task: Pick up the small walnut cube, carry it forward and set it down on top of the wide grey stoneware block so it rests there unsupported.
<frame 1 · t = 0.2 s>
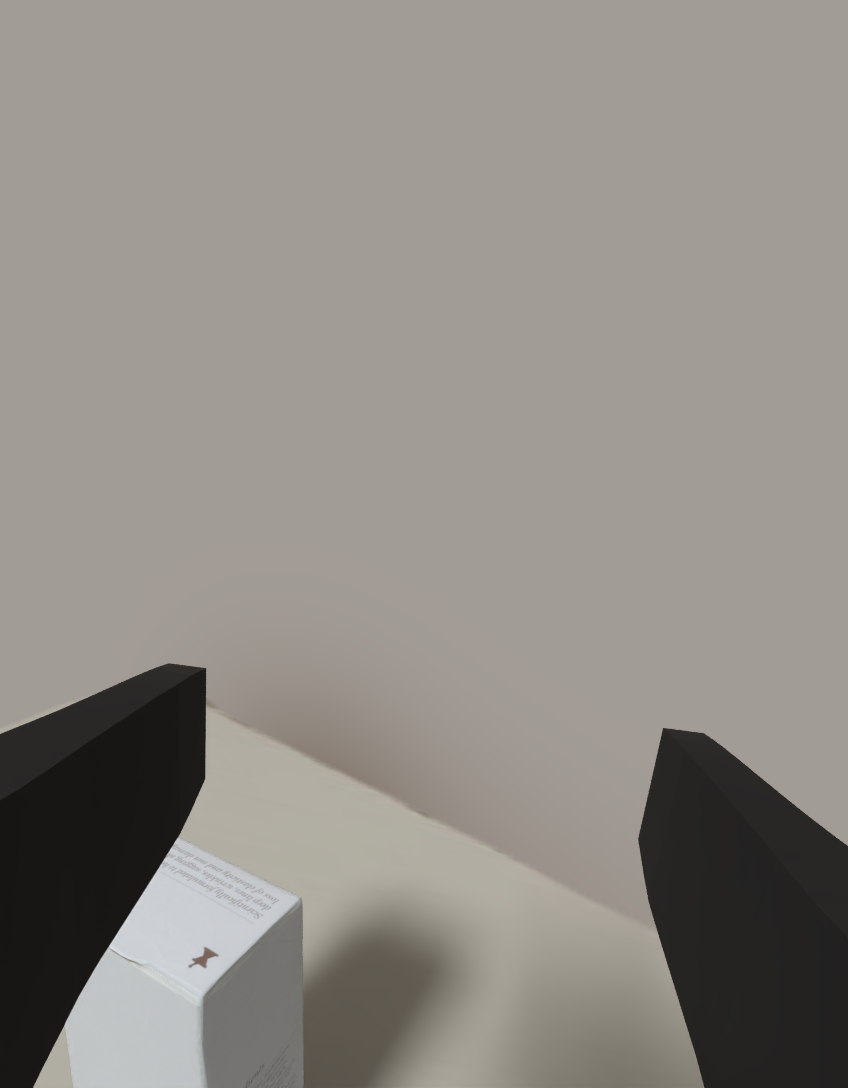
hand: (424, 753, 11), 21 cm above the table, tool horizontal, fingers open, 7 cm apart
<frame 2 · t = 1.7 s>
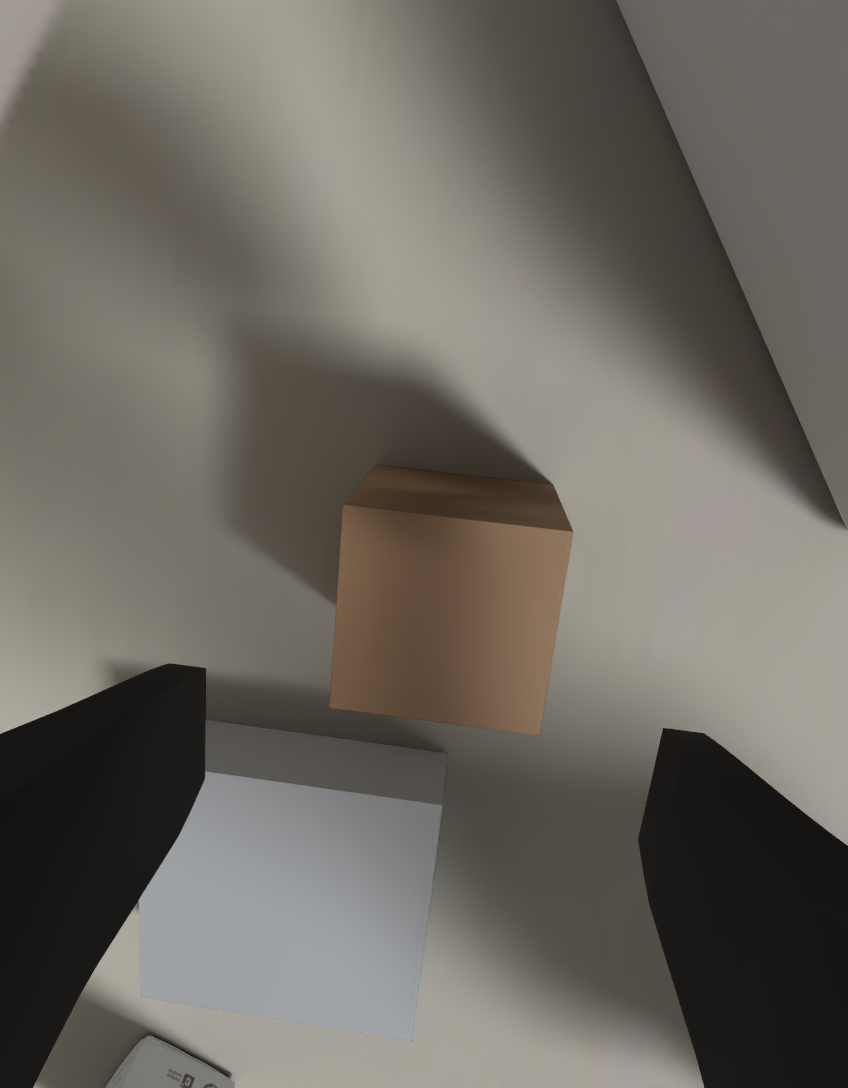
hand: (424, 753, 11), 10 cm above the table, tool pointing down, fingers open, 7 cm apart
walnut cube: (454, 557, 21), on the table
stoneware block: (305, 841, 25), on the table
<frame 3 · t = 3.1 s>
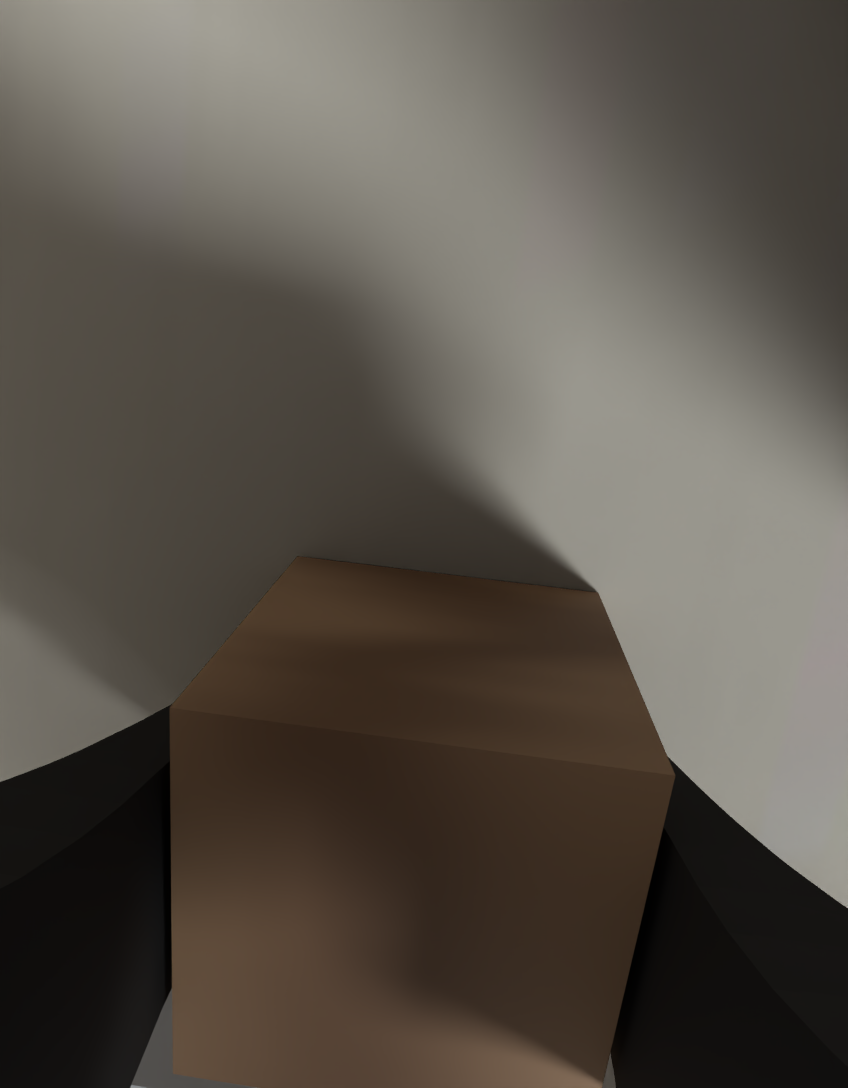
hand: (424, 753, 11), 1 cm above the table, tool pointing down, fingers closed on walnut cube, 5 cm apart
walnut cube: (430, 707, 12), on the table, touching gripper
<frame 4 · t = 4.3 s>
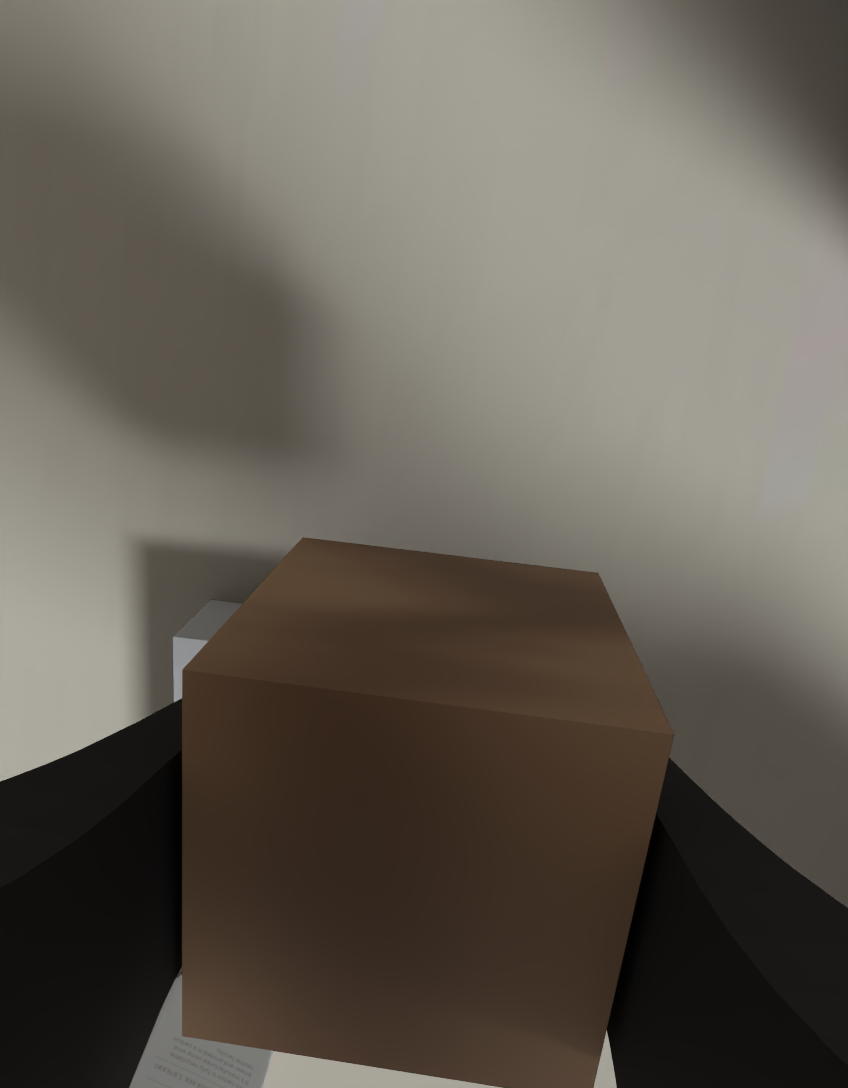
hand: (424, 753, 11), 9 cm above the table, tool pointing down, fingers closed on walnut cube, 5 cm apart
walnut cube: (433, 687, 13), point 7 cm above the table, touching gripper
skincare box: (200, 1043, 26), on the table
stoneware block: (357, 746, 22), on the table
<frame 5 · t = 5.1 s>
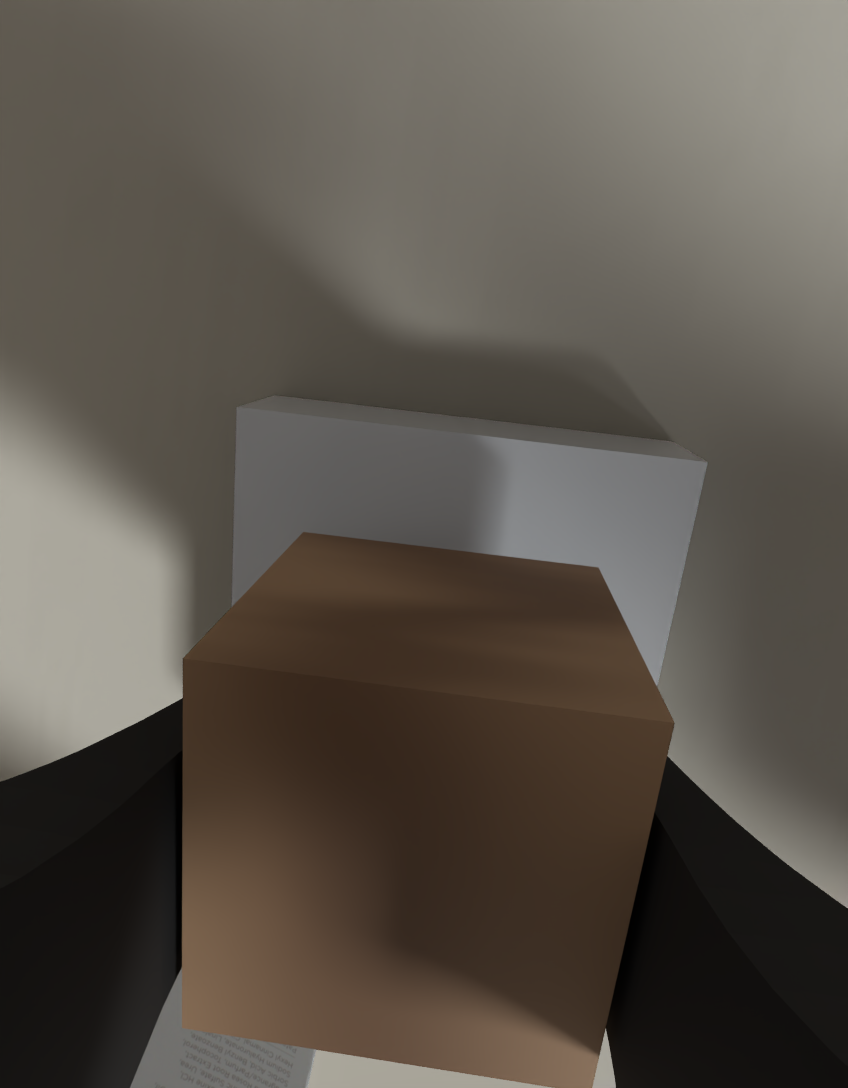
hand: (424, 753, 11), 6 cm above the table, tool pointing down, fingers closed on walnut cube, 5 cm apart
walnut cube: (433, 682, 13), point 5 cm above the table, touching gripper
skincare box: (239, 977, 22), on the table
stoneware block: (449, 597, 18), on the table
when the fingers open (6 cm above the table, at t = 5.7 s): walnut cube drops 1 cm, point 3 cm above the table.
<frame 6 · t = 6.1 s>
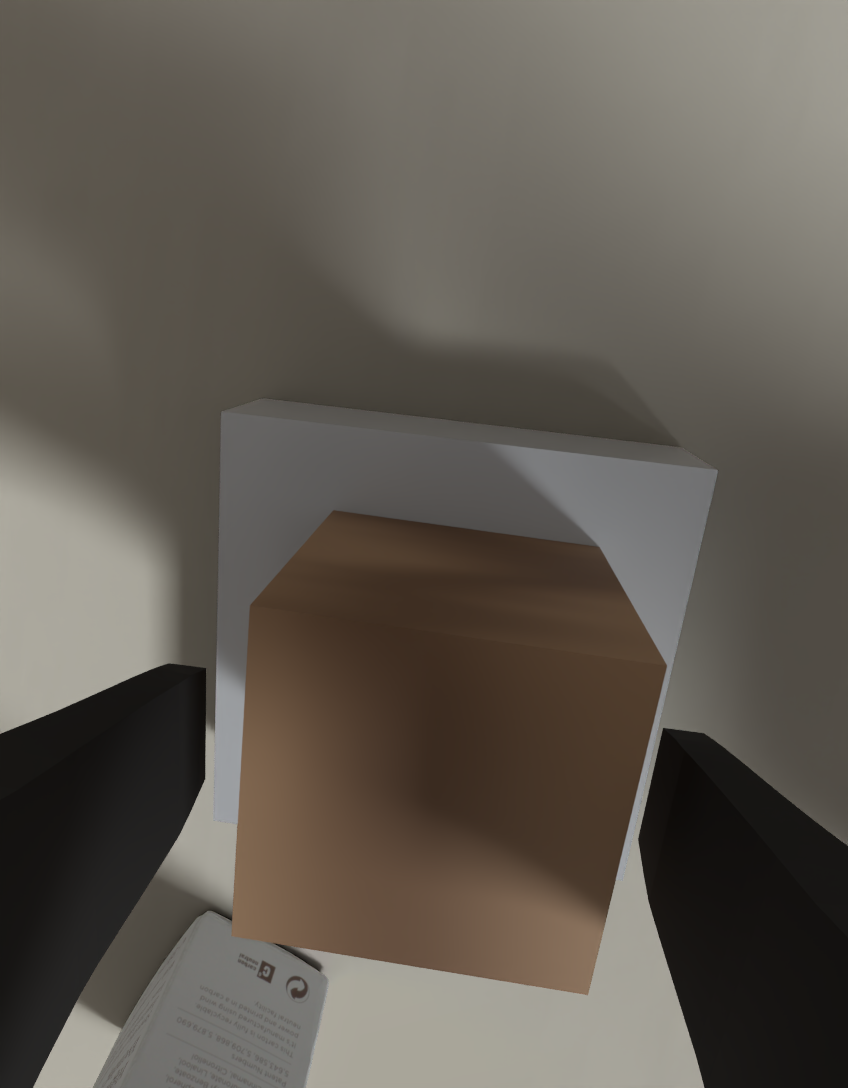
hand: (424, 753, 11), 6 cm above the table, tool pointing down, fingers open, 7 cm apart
walnut cube: (447, 650, 14), point 3 cm above the table
skincare box: (228, 1001, 21), on the table
stoneware block: (446, 607, 17), on the table
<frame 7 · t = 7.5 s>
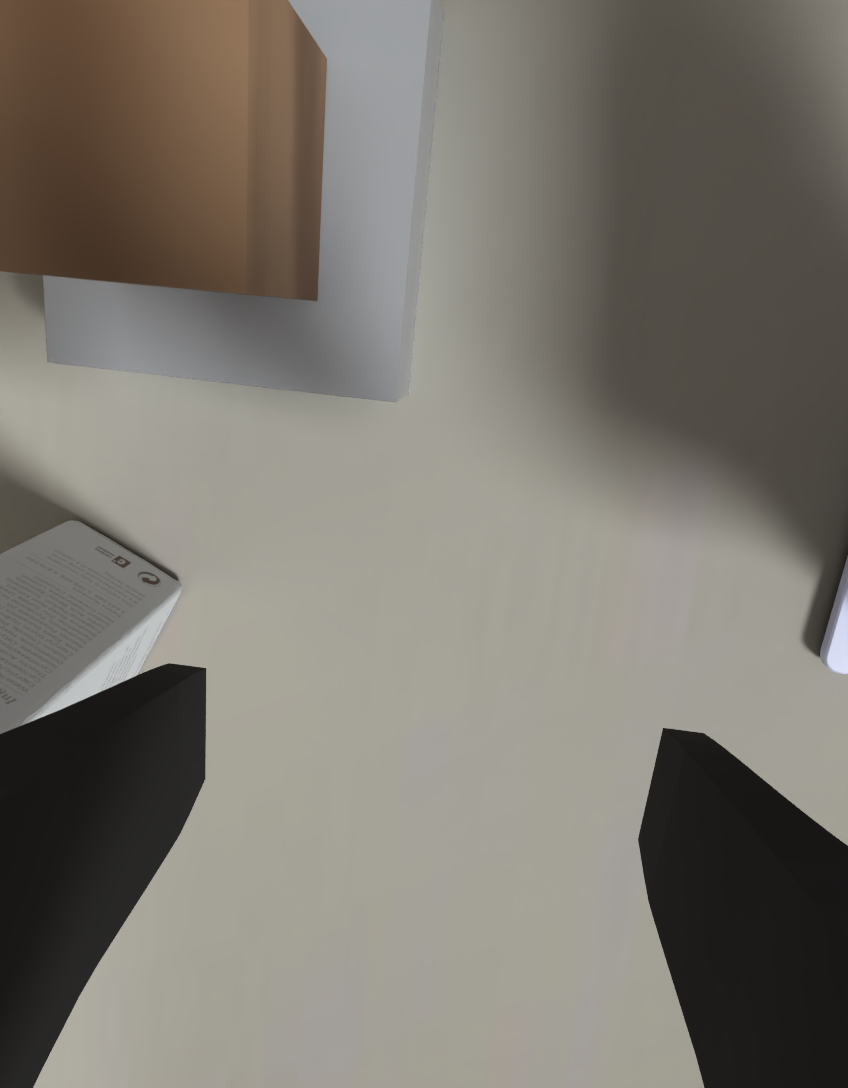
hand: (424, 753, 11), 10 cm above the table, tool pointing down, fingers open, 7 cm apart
walnut cube: (215, 177, 16), point 3 cm above the table
skincare box: (101, 623, 23), on the table
stoneware block: (263, 206, 19), on the table
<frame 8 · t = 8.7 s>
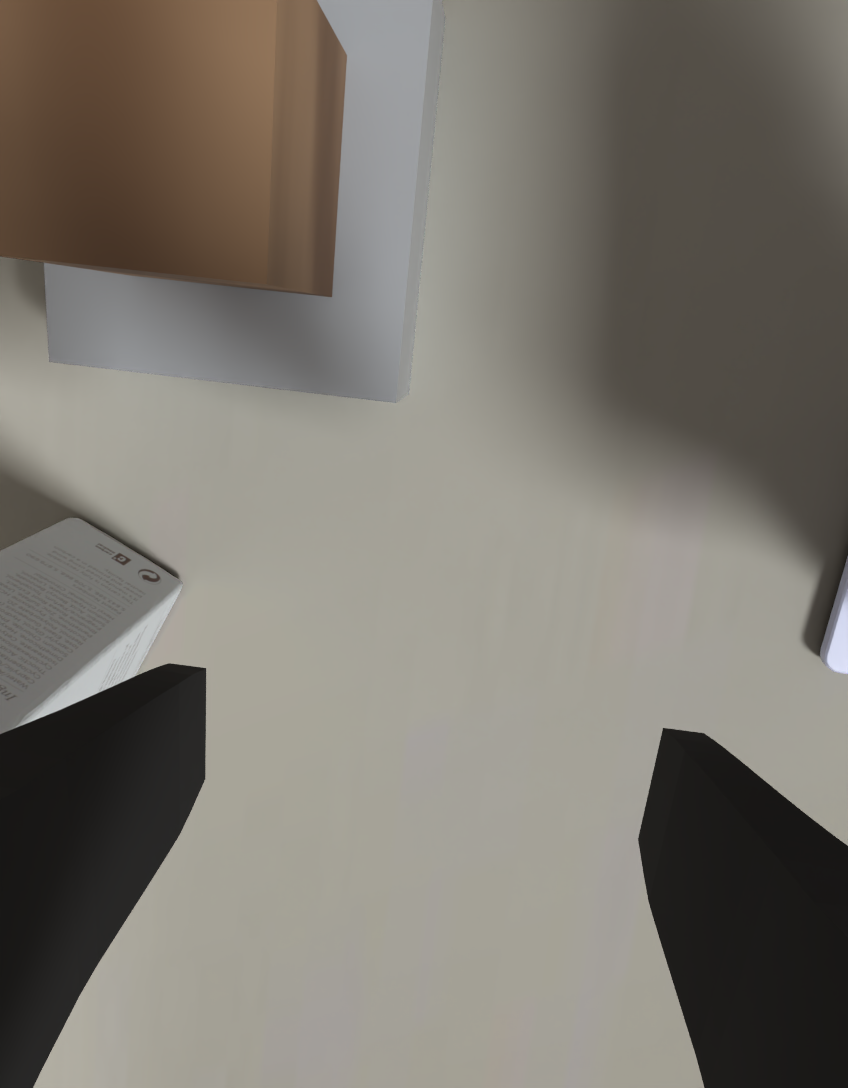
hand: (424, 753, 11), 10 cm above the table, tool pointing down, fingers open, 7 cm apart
walnut cube: (232, 171, 16), point 3 cm above the table, touching stoneware block
skincare box: (101, 621, 23), on the table
stoneware block: (264, 205, 19), on the table, touching walnut cube
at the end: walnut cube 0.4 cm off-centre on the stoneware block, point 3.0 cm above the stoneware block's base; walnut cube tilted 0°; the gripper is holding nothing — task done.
